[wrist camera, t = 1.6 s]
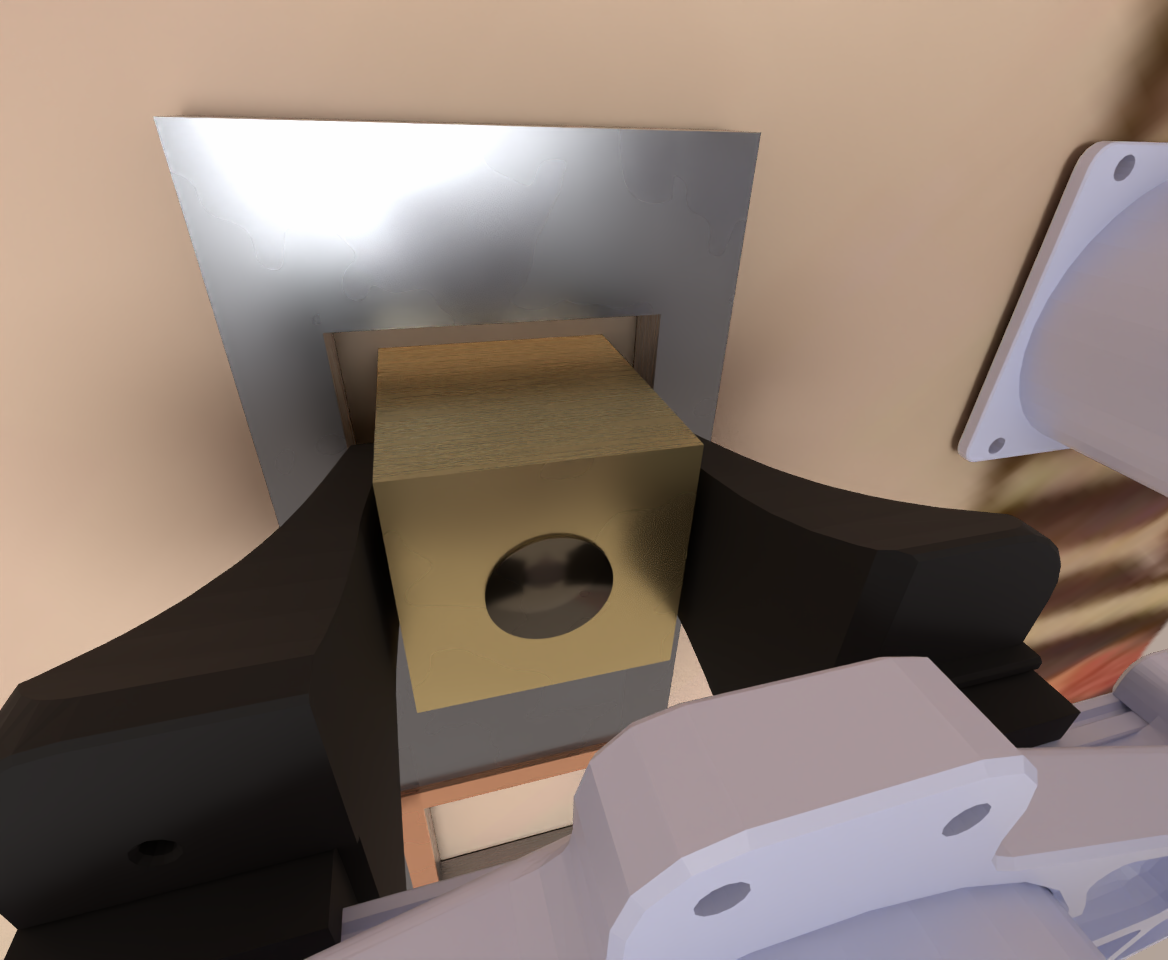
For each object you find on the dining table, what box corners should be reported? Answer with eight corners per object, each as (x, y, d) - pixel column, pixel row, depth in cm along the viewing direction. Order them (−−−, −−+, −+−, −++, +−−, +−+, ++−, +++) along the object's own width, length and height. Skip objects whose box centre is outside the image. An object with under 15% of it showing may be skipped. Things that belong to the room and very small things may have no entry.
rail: (727, 130, 11) (767, 133, 10) (629, 847, 25) (641, 883, 24) (179, 115, 9) (148, 117, 8) (408, 911, 23) (409, 954, 21)
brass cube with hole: (601, 333, 12) (706, 446, 8) (593, 507, 15) (671, 662, 11) (378, 347, 11) (371, 486, 7) (408, 533, 14) (417, 716, 10)
